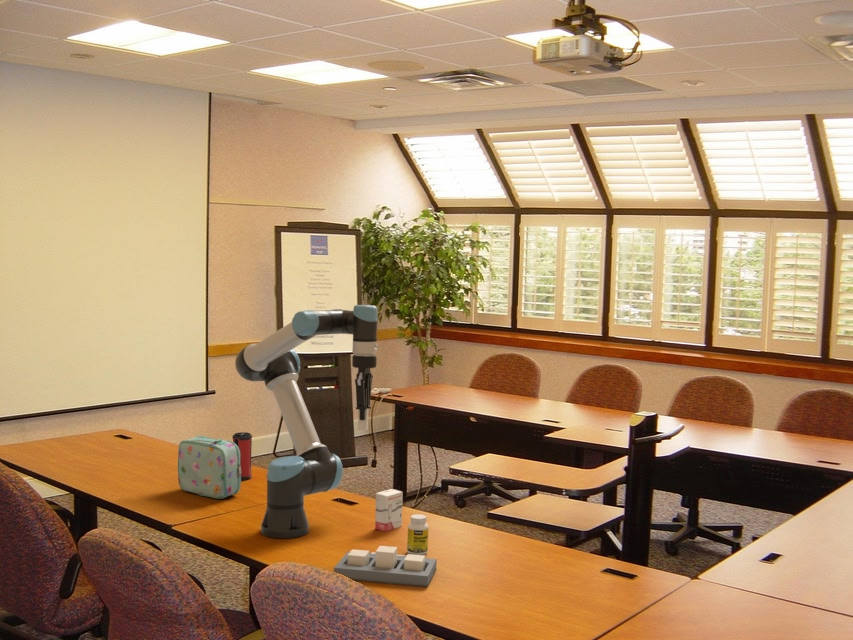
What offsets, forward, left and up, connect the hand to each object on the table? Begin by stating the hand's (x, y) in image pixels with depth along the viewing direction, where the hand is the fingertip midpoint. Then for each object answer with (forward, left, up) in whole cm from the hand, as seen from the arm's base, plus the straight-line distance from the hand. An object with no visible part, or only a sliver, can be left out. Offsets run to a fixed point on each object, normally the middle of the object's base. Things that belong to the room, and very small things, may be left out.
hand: (362, 429), depth 267 cm
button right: (+23, -29, -34) cm, 50 cm away
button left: (+7, -29, -34) cm, 45 cm away
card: (+13, -17, -34) cm, 41 cm away
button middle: (+15, -29, -32) cm, 46 cm away
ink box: (+6, +13, -35) cm, 37 cm away
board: (+15, -29, -34) cm, 47 cm away
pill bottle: (+20, -9, -35) cm, 41 cm away
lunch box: (-67, +36, -35) cm, 84 cm away
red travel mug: (-65, +61, -35) cm, 96 cm away
